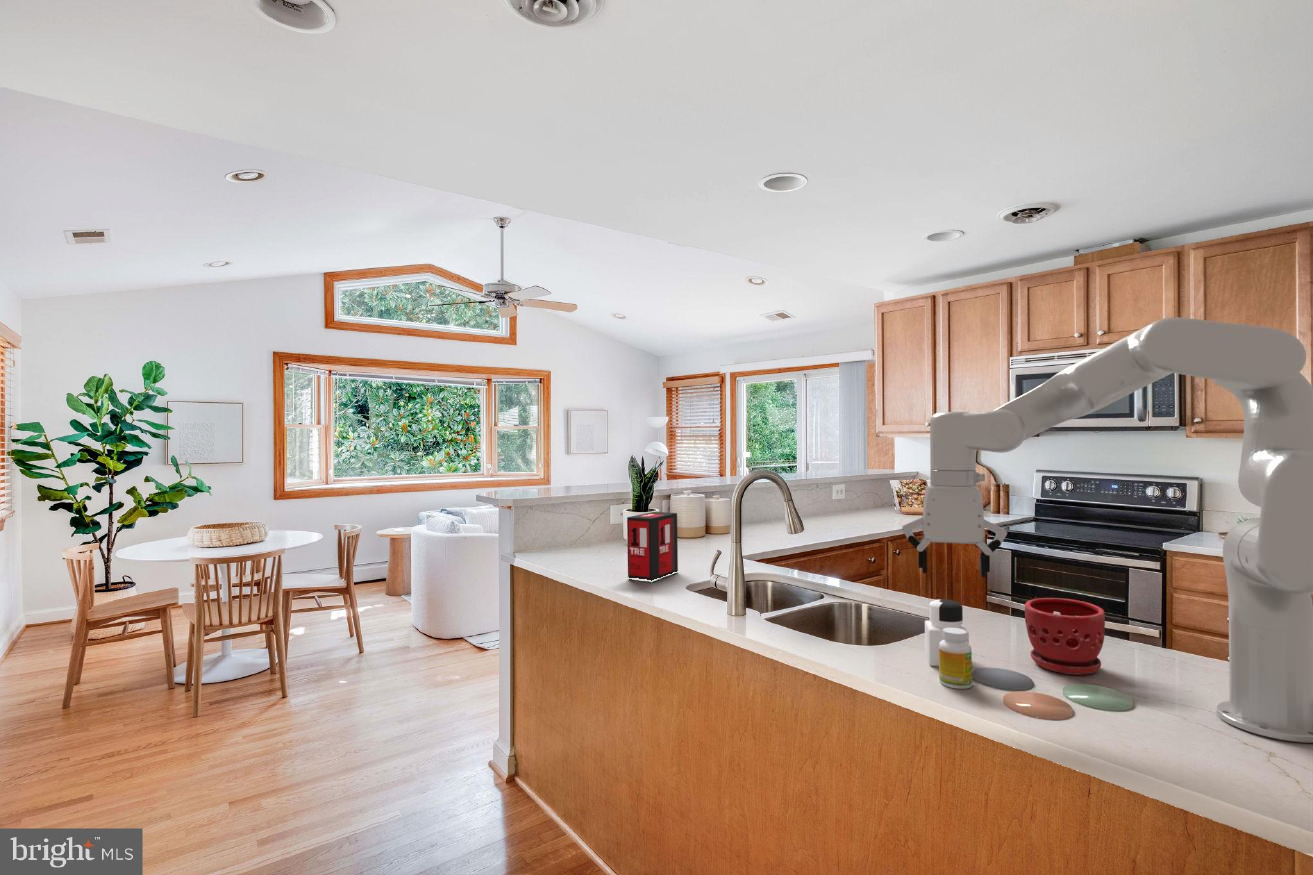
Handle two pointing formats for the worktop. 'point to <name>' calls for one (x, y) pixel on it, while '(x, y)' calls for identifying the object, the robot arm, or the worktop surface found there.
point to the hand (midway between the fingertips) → (953, 574)
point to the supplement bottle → (955, 659)
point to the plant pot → (1065, 634)
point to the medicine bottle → (941, 626)
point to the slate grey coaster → (1002, 679)
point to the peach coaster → (1037, 705)
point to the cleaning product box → (652, 545)
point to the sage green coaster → (1098, 697)
